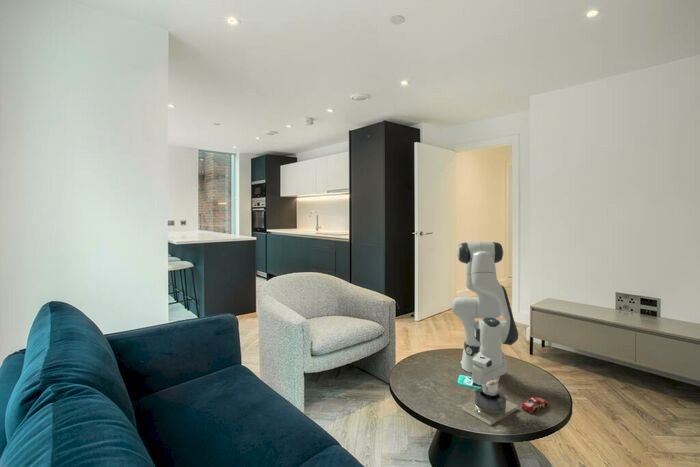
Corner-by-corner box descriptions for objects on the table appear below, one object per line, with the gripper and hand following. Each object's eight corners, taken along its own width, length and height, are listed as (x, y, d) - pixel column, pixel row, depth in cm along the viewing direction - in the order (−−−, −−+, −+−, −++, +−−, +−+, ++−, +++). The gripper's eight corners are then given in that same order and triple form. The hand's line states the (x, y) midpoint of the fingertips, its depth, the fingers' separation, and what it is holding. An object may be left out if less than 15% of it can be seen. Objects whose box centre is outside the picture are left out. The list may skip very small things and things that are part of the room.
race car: (538, 400, 160) (538, 392, 160) (550, 406, 155) (550, 397, 155) (519, 408, 154) (519, 399, 154) (530, 414, 149) (530, 405, 149)
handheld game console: (460, 376, 185) (460, 373, 184) (493, 383, 177) (493, 380, 177) (456, 384, 176) (456, 382, 176) (490, 392, 168) (490, 389, 168)
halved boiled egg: (488, 387, 157) (488, 378, 156) (500, 392, 152) (500, 383, 151) (479, 391, 153) (479, 381, 153) (492, 397, 148) (492, 387, 148)
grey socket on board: (489, 395, 164) (489, 381, 164) (518, 409, 153) (518, 394, 153) (461, 409, 153) (461, 394, 153) (490, 425, 142) (490, 409, 141)
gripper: (498, 349, 160) (497, 378, 161) (469, 360, 148) (469, 392, 149) (511, 353, 155) (510, 384, 156) (482, 365, 143) (482, 398, 144)
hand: (490, 388), depth 152 cm, fingers closed on halved boiled egg, 6 cm apart
